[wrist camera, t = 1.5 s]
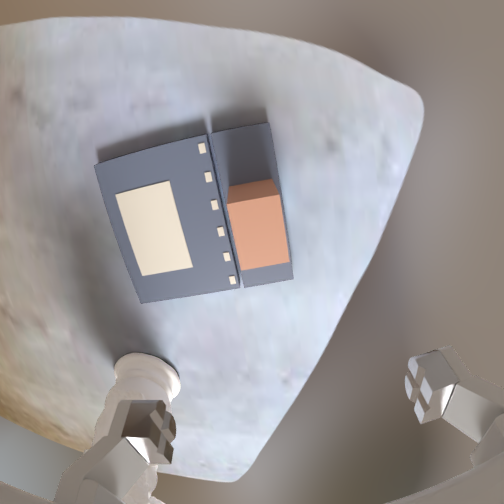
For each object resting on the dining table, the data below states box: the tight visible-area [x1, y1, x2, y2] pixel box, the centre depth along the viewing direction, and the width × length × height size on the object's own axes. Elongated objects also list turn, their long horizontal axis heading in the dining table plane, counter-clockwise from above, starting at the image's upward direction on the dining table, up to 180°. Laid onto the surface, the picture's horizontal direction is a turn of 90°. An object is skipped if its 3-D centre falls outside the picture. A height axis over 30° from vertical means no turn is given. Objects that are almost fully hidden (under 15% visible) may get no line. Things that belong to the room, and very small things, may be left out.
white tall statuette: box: [84, 353, 181, 504], centre depth 27 cm, size 12×12×22 cm
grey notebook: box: [94, 134, 240, 304], centre depth 27 cm, size 10×14×1 cm
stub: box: [211, 122, 294, 288], centre depth 24 cm, size 5×14×6 cm, turn 10°
